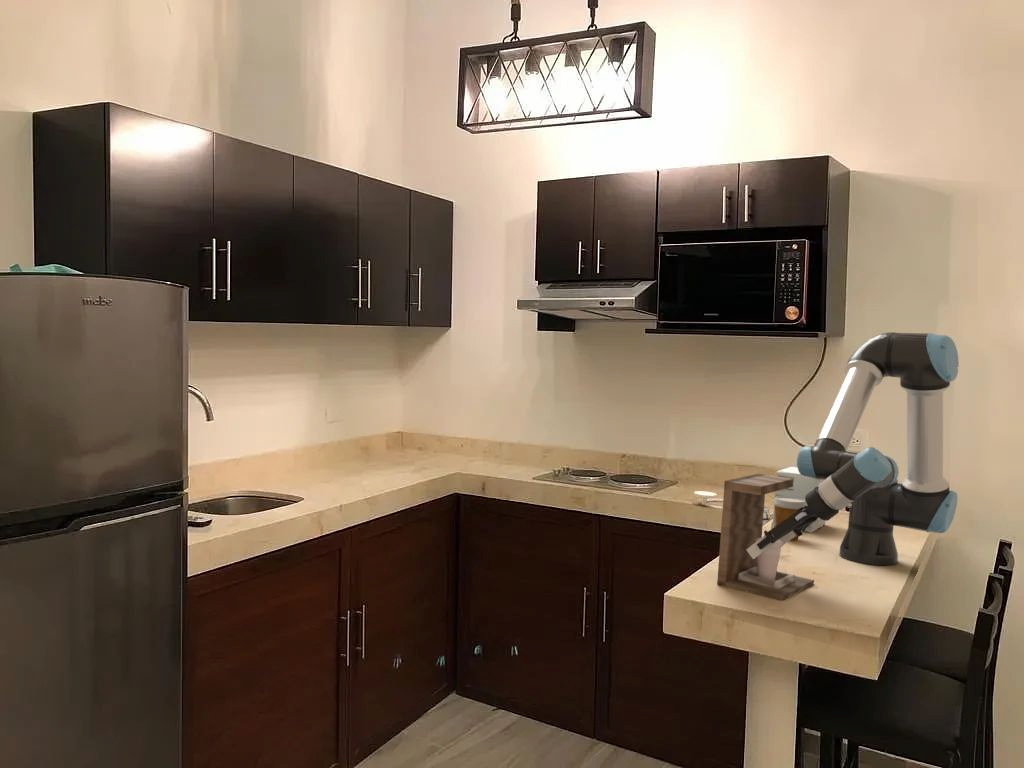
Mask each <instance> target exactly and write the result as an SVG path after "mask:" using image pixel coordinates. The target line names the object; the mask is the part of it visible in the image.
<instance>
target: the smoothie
mask: <svg viewBox="0 0 1024 768" xmlns="http://www.w3.org/2000/svg"><path fill="white" fill-rule="evenodd" d="M774 527H775V526H774V523H773V522H771V529H773V528H774ZM771 529H770V530H771ZM759 539H761V538H757V539H756V542H757V541H758V540H759ZM783 546H784V545H783V542H782V541H780V540H777V541H776V542H775V543H774V544H773V545H772V546H771V547H769V548H768V549H767V550H765V551H764V552H763V553H761V554H760V555H759V556H757V558H758V575H759V577H762V578H766V579H770V580H775V577H776V572H777V571H778V566H779V561H780V556H781V551H782V548H783Z"/></svg>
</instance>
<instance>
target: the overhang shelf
mask: <svg viewBox="0 0 1024 768" xmlns="http://www.w3.org/2000/svg"><path fill="white" fill-rule="evenodd" d="M723 484H724V485H723V498H722V499H723V502H722V507H723V509H722V512H721V513H722V514H721V527H720V539H719V541H720V543H719V554H718V569H717V581H716V584H718V586H721V585H722V587H725V586H726V588H729V587H730V588H731V589H733V588H734V590H737V589H738V590H737V591H741V590H743V591H742V592H745V591H747V593H750V592H751V593H750V594H754V593H755V594H754V595H758V596H762V595H763V596H762V597H766V596H767V597H768V598H770V597H771V599H774V598H776V599H775V600H778V599H780V600H779V601H785V600H786V599H788V598H789V596H790V597H792V596H793V594H794V595H795V593H796V594H797V593H799V592H801V591H803V590H805V589H807V588H809V587H811V586H813V585H814V583H815V580H814V579H811V578H806V577H802V576H797V575H795V574H791V573H788V572H783V571H778V570H777V572H776V577H775V580H770V579H766V578H762V577H759V575H758V558H757V557H756V558H755V559H753V558H752V557H751V556H750V554H749V553H748V552H747V550H746V549H748V548H749V547H750V546H752V545H753V544H754V543H755V542H756V539H757V538H762V537H763V526H764V525H763V513H764V507H765V500H766V499H765V497H766V495H767V494H771V493H775V491H779V490H782V489H786V488H790V487H793V479H791V478H785V477H778V476H776V475H770V474H765V473H764V474H763V473H754V474H751V475H746V476H745V475H744V476H742V477H736V478H732V479H726V480H724V483H723ZM791 595H792V596H791ZM787 597H788V598H787ZM785 598H786V599H785Z"/></svg>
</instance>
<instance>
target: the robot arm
mask: <svg viewBox="0 0 1024 768" xmlns="http://www.w3.org/2000/svg"><path fill="white" fill-rule="evenodd" d="M958 369H959V354H958V349H957V345H956V343H955V342H954V340H953V339H952V338H951V336H948V335H945V334H937V333H926V332H925V333H921V332H920V333H916V332H915V333H914V332H911V333H910V332H895V331H894V332H893V331H891V332H889V331H888V332H883V333H879V334H877V335H875V336H872V337H871V338H868V340H866V341H865V342H863V343H862V344H861V345H860V346H859V347H857V349H856V350H855V351H853V353H852V354H851V355H850V357H849V359H848V360H847V362H846V365H845V367H844V374H845V377H844V379H843V381H842V382H841V384H840V385H841V386H840V387H839V390H838V392H837V395H836V397H835V399H834V401H833V403H832V405H831V406H830V407H831V408H830V410H829V412H828V414H827V416H826V419H825V421H824V423H823V426H822V427H821V430H820V432H819V434H818V436H817V439H816V441H815V442H814V445H813V446H811V445H805V446H802V448H800V450H799V451H798V454H797V458H796V467H797V468H798V471H799V473H800V474H801V475H803V476H807V477H811V478H815V479H824V481H823V482H821V483H820V484H819V487H815V488H814V489H813V490H811V491H810V492H809V493H808V494H806V496H805V500H806V502H807V506H805V507H804V508H803V507H801V508H800V509H798V510H797V512H796V513H794V514H792V515H791V516H790V517H789V518H787V519H786V520H784V521H783V522H781V523H780V524H778V525H777V526H774V528H773V529H769V530H767V529H766V530H764V531H763V533H764V535H762V538H761V539H759V540H758V541H757V542H755V543H754V544H753V545H752V546H750V547H749V548H748V549H746V550H747V552H748V553H749V554H750V556H751V557H752V558H753V559H755V558H756V557H757V556H759V555H760V554H761V553H763V552H764V551H765V550H767V549H768V548H769V547H771V546H772V545H773V544H774V543H775V542H776V541H777V540H780V541H782V542H783V546H784V545H785V544H787V543H788V542H790V540H791V539H792V538H794V537H795V536H796V534H795V533H797V535H798V536H799V537H801V536H803V535H804V534H803V532H806V531H805V529H806V528H807V527H809V526H810V525H811V524H812V523H813V522H815V521H816V520H817V519H818V518H820V519H822V520H825V522H826V521H827V522H828V521H830V520H831V519H833V518H834V517H835V516H836V515H838V514H839V512H840V511H842V510H843V509H845V508H847V507H848V508H849V511H848V525H847V529H846V532H845V534H844V537H843V539H842V541H841V543H840V546H839V551H838V552H839V553H838V554H839V556H840V557H842V558H844V559H845V560H848V561H849V560H850V561H853V562H857V563H861V564H866V565H867V564H868V565H875V566H876V565H878V566H893V565H896V564H898V560H899V553H898V549H897V545H896V542H895V539H894V538H895V537H894V526H895V527H900V528H905V529H912V530H914V531H915V530H916V531H921V532H926V533H936V534H945V533H946V532H947V531H948V530H949V529H950V528H951V525H952V522H953V521H954V518H955V515H956V511H957V506H958V505H957V504H958V494H957V492H956V491H954V490H950V482H949V480H947V479H946V478H945V477H944V392H945V391H946V390H948V389H949V388H950V386H951V382H953V381H955V380H956V378H957V377H958V373H959V370H958ZM886 377H888V378H889V377H892V378H899V379H900V380H899V381H900V383H899V384H900V388H902V389H903V390H904V391H905V392H906V449H907V450H906V453H907V454H906V455H907V456H906V457H907V458H906V459H907V463H906V464H907V465H906V466H907V468H906V469H907V475H906V476H905V477H904V478H902V479H901V482H899V481H898V477H899V474H900V473H899V467H898V464H897V462H896V461H895V460H894V459H893V458H892V457H890V456H888V455H884V454H883V453H882V452H881V451H880V450H879V449H877V448H875V447H873V446H867V447H866V448H865V449H863V450H862V451H860V452H853V451H848V448H849V446H850V444H851V441H852V439H853V437H854V435H855V433H856V430H857V428H858V426H859V423H860V421H861V419H862V417H863V414H864V412H865V409H866V407H867V405H868V402H869V400H870V398H871V395H872V393H873V391H874V390H875V387H877V386H879V385H880V384H881V383H882V381H883V379H884V378H886ZM898 482H899V483H898ZM799 537H798V538H799Z"/></svg>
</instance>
